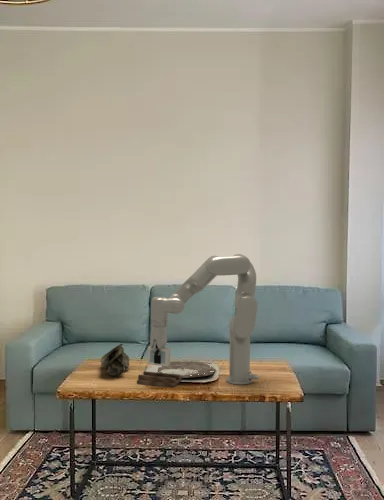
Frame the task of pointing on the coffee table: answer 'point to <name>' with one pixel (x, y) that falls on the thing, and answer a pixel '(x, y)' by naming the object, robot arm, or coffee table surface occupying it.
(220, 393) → the coffee table surface
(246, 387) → the coffee table surface
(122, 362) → the hollow geode rock
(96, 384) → the coffee table surface
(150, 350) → the picture frame
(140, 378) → the picture ledge
